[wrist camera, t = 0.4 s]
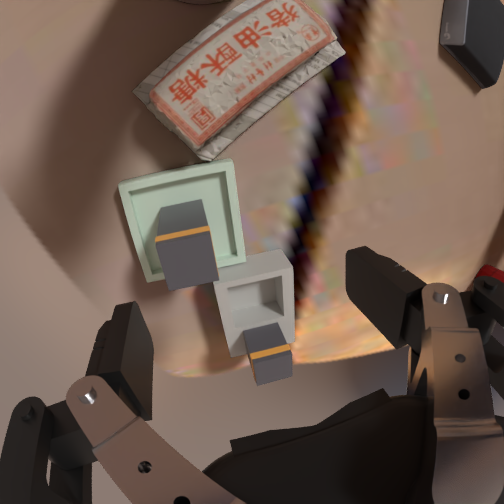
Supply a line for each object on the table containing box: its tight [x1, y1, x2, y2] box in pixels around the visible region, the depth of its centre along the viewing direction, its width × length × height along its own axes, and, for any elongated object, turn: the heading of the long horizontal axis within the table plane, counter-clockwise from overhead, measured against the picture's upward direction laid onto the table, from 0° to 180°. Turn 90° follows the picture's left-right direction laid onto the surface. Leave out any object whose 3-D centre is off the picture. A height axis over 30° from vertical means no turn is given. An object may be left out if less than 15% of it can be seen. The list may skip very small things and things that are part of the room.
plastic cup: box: [475, 265, 504, 328], centre depth 43 cm, size 11×11×12 cm
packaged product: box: [132, 0, 345, 161], centre depth 21 cm, size 18×5×10 cm
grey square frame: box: [213, 249, 295, 385], centre depth 31 cm, size 11×8×9 cm
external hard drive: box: [440, 0, 504, 89], centre depth 21 cm, size 13×19×4 cm
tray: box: [118, 158, 246, 283], centre depth 28 cm, size 11×11×2 cm
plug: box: [155, 199, 219, 291], centre depth 25 cm, size 4×4×8 cm
